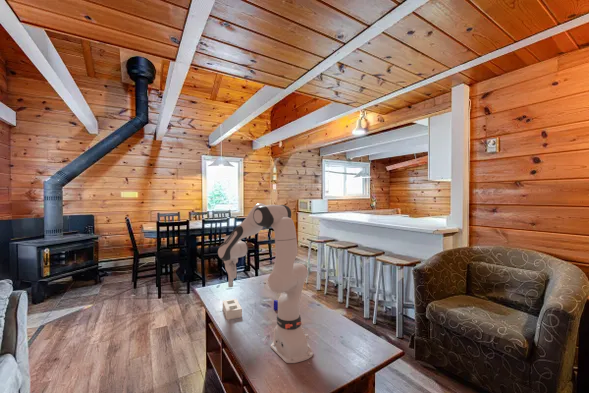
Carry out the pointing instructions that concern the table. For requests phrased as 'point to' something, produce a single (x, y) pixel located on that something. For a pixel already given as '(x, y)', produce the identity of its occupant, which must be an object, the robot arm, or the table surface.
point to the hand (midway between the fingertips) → (230, 281)
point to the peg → (229, 282)
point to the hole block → (232, 309)
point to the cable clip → (275, 305)
